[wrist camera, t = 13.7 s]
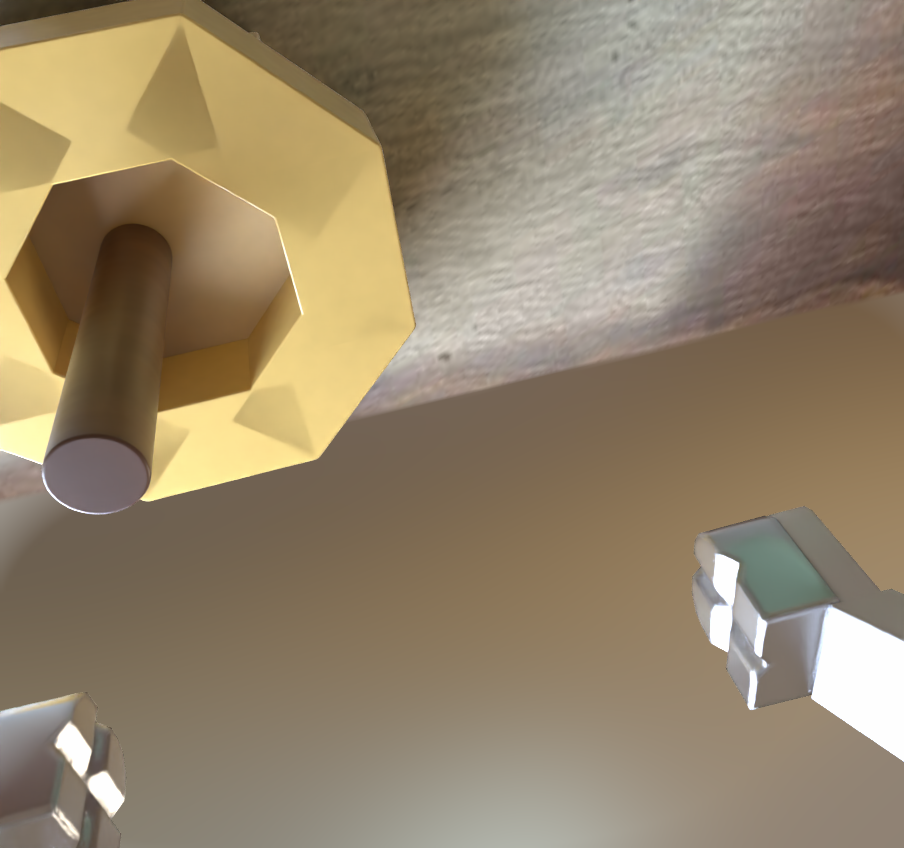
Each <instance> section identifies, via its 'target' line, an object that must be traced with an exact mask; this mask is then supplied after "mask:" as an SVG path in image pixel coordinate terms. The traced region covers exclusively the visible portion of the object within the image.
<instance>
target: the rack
mask: <svg viewBox="0 0 904 848" xmlns="http://www.w3.org/2000/svg"><path fill="white" fill-rule="evenodd" d="M250 34H251V35H253V36H254V37H256V38H257V39H258V40H260V37H259V34H258V32H250ZM28 235H29V237H30V239H31V241H32V243H33V245H34V248H35V250H36V252H37V254H38V256H39V258H40V260H41V262H42V264H43V266H44V269H45V271H46V273H47V275H48V277H49V279H50V281H51V283H52V285H53V287H54V290H55V292H56V294H57V296H58V298H59V300H60V302H61V304H62V306H63V308H64V310H65V313H66V315H67V317H68V319H69V320H71V321H74V322H76V323H78V324H80V325H79V329H78V333H77V336H76V340H75V344H74V348H73V351H72V355H71V359H70V363H69V366H68V370H67V374H66V378H65V381H64V385H63V389H62V393H61V396H60V400H59V404H58V408H57V411H56V415H55V419H54V423H53V426H52V430H51V434H50V438H49V441H48V445H47V449H46V452H45V456H44V460H43V464H42V478H43V482H44V484H45V486H46V488H47V490H48V491H49V493H50V494H51V495H52V496H53V497H54V498H55V499H56V500H57V501H58V502H60V503H61V504H63V505H64V506H66V507H68V508H70V509H73V510H75V511H79V512H83V513H88V514H109V513H115V512H118V511H121V510H124V509H126V508H128V507H130V506H132V505H133V504H135V503H136V502H137V501H139V500H140V499H141V498H142V497H143V495H144V494H145V493H146V491H147V489H148V488H149V485H150V481H151V474H152V463H153V453H154V443H155V433H156V423H157V413H158V402H159V392H160V382H161V372H162V362H163V358H166V357H170V356H175V355H179V354H183V353H187V352H192V351H196V350H200V349H204V348H209V347H213V346H217V345H221V344H226V343H230V342H234V341H238V340H243V339H247V338H248V337H249V336H250V334H251V333H252V331H253V330H254V328H255V327H256V325H257V323H258V322H259V320H260V319H261V317H262V316H263V314H264V313H265V311H266V310H267V308H268V307H269V305H270V304H271V302H272V301H273V299H274V297H275V296H276V294H277V293H278V291H279V290H280V288H281V287H282V285H283V284H284V282H285V281H286V279H287V278H288V276H289V275H290V271H289V268H288V264H287V261H286V257H285V254H284V250H283V247H282V243H281V240H280V236H279V233H278V229H277V226H276V222H275V219H274V218H273V217H271V216H270V215H268V214H266V213H264V212H263V211H261V210H259V209H257V208H256V207H254V206H252V205H250V204H249V203H247V202H245V201H243V200H242V199H240V198H238V197H236V196H235V195H233V194H231V193H229V192H227V191H226V190H224V189H222V188H220V187H219V186H217V185H215V184H213V183H212V182H210V181H208V180H206V179H205V178H203V177H201V176H199V175H198V174H196V173H194V172H192V171H191V170H189V169H187V168H185V167H184V166H182V165H180V164H178V163H177V162H175V161H173V160H167V161H162V162H157V163H152V164H148V165H143V166H138V167H134V168H129V169H124V170H120V171H115V172H110V173H106V174H101V175H96V176H92V177H87V178H82V179H78V180H73V181H68V182H64V183H59V184H54V185H53V186H52V188H51V190H50V192H49V194H48V196H47V198H46V200H45V202H44V204H43V206H42V208H41V210H40V212H39V214H38V216H37V218H36V220H35V222H34V224H33V226H32V228H31V230H30V232H29V234H28Z"/></svg>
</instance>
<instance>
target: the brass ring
mask: <svg viewBox="0 0 904 848" xmlns="http://www.w3.org/2000/svg"><path fill="white" fill-rule="evenodd" d="M167 160H173V161H175V162H177V163H178V164H180V165H182V166H184V167H185V168H187V169H189V170H191V171H192V172H194V173H196V174H198V175H199V176H201V177H203V178H205V179H206V180H208V181H210V182H212V183H213V184H215V185H217V186H219V187H220V188H222V189H224V190H226V191H227V192H229V193H231V194H233V195H235V196H236V197H238V198H240V199H242V200H243V201H245V202H247V203H249V204H250V205H252V206H254V207H256V208H257V209H259V210H261V211H263V212H264V213H266V214H268V215H270V216H271V217H273V218H274V219H275V222H276V226H277V229H278V233H279V236H280V240H281V243H282V247H283V250H284V254H285V257H286V261H287V264H288V268H289V271H290V275H289V276H288V278H287V279H286V281H285V282H284V284H283V285H282V287H281V288H280V290H279V291H278V293H277V294H276V296H275V297H274V299H273V301H272V302H271V304H270V305H269V307H268V308H267V310H266V311H265V313H264V314H263V316H262V317H261V319H260V320H259V322H258V323H257V325H256V327H255V328H254V330H253V331H252V333H251V334H250V336H249V337H248V338H247V339H243V340H238V341H234V342H230V343H226V344H221V345H217V346H213V347H209V348H204V349H200V350H196V351H192V352H187V353H183V354H179V355H175V356H170V357H166V358H163V362H162V372H161V382H160V392H159V402H158V413H157V423H156V433H155V443H154V453H153V463H152V474H151V481H150V485H149V488H148V489H147V491H146V493H145V494H144V495H143V497H142V498H141V500H144V501H152V500H156V499H160V498H163V497H168V496H172V495H176V494H180V493H184V492H188V491H192V490H196V489H200V488H204V487H208V486H212V485H215V484H220V483H223V482H227V481H232V480H236V479H239V478H244V477H248V476H252V475H256V474H259V473H263V472H267V471H272V470H275V469H280V468H284V467H287V466H292V465H295V464H299V463H304V462H307V461H311V460H315V459H318V458H319V457H320V455H321V454H322V453H323V451H324V450H325V449H326V447H327V446H328V445H329V443H330V442H331V441H332V439H333V438H334V437H335V435H336V434H337V433H338V431H339V430H340V429H341V427H342V426H343V425H344V423H345V422H346V421H347V419H348V418H349V416H350V415H351V414H352V412H353V411H354V410H355V408H356V407H357V406H358V404H359V403H360V402H361V400H362V399H363V398H364V396H365V395H366V394H367V392H368V391H369V390H370V388H371V387H372V385H373V384H374V383H375V381H376V380H377V379H378V377H379V376H380V375H381V373H382V372H383V371H384V369H385V368H386V367H387V365H388V364H389V363H390V361H391V360H392V359H393V357H394V356H395V355H396V353H397V352H398V350H399V349H400V348H401V346H402V345H403V344H404V342H405V341H406V340H407V338H408V337H409V336H410V334H411V333H412V332H413V330H414V329H415V326H416V323H415V318H414V312H413V307H412V302H411V297H410V292H409V286H408V281H407V276H406V271H405V265H404V260H403V255H402V250H401V245H400V239H399V234H398V229H397V224H396V219H395V213H394V208H393V203H392V198H391V193H390V187H389V182H388V177H387V172H386V166H385V161H384V156H383V151H382V146H381V144H380V142H379V140H378V138H377V136H376V134H375V132H374V130H373V128H372V126H371V124H370V122H369V120H368V118H367V116H366V114H365V112H364V111H363V110H361V109H360V108H359V107H357V106H356V105H354V104H353V103H351V102H350V101H348V100H347V99H345V98H344V97H342V96H341V95H339V94H338V93H336V92H335V91H334V90H332V89H331V88H329V87H328V86H326V85H325V84H323V83H322V82H320V81H319V80H317V79H316V78H314V77H313V76H311V75H310V74H309V73H307V72H306V71H304V70H303V69H301V68H300V67H298V66H297V65H295V64H294V63H292V62H291V61H289V60H288V59H286V58H285V57H283V56H282V55H281V54H279V53H278V52H276V51H275V50H273V49H272V48H270V47H269V46H267V45H266V44H264V43H263V42H261V41H260V40H258V39H257V38H256V37H254V36H253V35H251V34H250V33H248V32H247V31H245V30H244V29H242V28H241V27H239V26H238V25H236V24H235V23H233V22H232V21H231V20H229V19H228V18H226V17H225V16H223V15H222V14H220V13H219V12H217V11H216V10H214V9H213V8H211V7H210V6H208V5H207V4H205V3H204V2H203V1H201V0H131V1H126V2H121V3H116V4H111V5H106V6H100V7H95V8H90V9H85V10H80V11H75V12H70V13H65V14H59V15H54V16H49V17H44V18H39V19H34V20H29V21H24V22H19V23H13V24H8V25H3V26H0V450H3V451H5V452H8V453H11V454H14V455H17V456H20V457H22V458H25V459H28V460H31V461H34V462H36V463H39V464H43V460H44V456H45V452H46V449H47V445H48V441H49V438H50V434H51V430H52V426H53V423H54V419H55V415H56V411H57V408H58V404H59V400H60V396H61V393H62V389H63V385H64V381H65V378H66V374H67V370H68V366H69V363H70V359H71V355H72V351H73V348H74V344H75V340H76V336H77V333H78V329H79V325H80V324H78V323H76V322H74V321H71V320H69V319H68V317H67V315H66V313H65V310H64V308H63V306H62V304H61V302H60V300H59V298H58V296H57V294H56V292H55V290H54V287H53V285H52V283H51V281H50V279H49V277H48V275H47V273H46V271H45V269H44V266H43V264H42V262H41V260H40V258H39V256H38V254H37V252H36V250H35V248H34V245H33V243H32V241H31V239H30V237H29V235H28V234H29V232H30V230H31V228H32V226H33V224H34V222H35V220H36V218H37V216H38V214H39V212H40V210H41V208H42V206H43V204H44V202H45V200H46V198H47V196H48V194H49V192H50V190H51V188H52V186H53V185H54V184H59V183H64V182H68V181H73V180H78V179H82V178H87V177H92V176H96V175H101V174H106V173H110V172H115V171H120V170H124V169H129V168H134V167H138V166H143V165H148V164H152V163H157V162H162V161H167Z"/></svg>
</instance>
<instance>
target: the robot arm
mask: <svg viewBox="0 0 904 848" xmlns="http://www.w3.org/2000/svg"><path fill="white" fill-rule="evenodd" d="M694 555H695V556H696V558H697V560H698V561H699V563H700V565H701V567H700V568H699V569H698V570H697V572H696V573H695V574H694V575H693V577H692V596H693V600H694V604H695V609H696V613H697V616H698V618H699V620H700V623H701V625H702V627H703V629H704V631H705V633H706V635H707V636H708V638H709V640H710V642H711V643H713V644H714V645H716V646H718V647H720V648H722V649H723V650H725V651H727V652H728V659H727V668H726V669H727V671H728V673H729V674H730V676H731V678H732V679H733V681H734V683H735V685H736V686H737V688H738V690H739V691H740V693H741V695H742V696H743V698H744V699H745V701H746V703H747V705H748V707H749V708H750V710H753V709H757V708H761V707H765V706H769V705H773V704H777V703H781V702H785V701H789V700H793V699H797V698H801V697H805V696H809V695H812V699H813V700H815V701H816V702H818V703H819V704H821V705H822V706H824V707H825V708H827V709H828V710H830V711H831V712H832V713H834V714H835V715H837V716H838V717H840V718H841V719H843V720H844V721H846V722H847V723H849V724H850V725H852V726H853V727H854V728H856V729H857V730H859V731H861V732H862V733H863V734H865V735H866V736H868V737H869V738H871V739H872V740H874V741H875V742H876V743H878V744H879V745H881V746H882V747H884V748H885V749H887V750H888V751H890V752H891V753H893V754H894V755H896V756H897V757H898V758H900V759H901V760H903V761H904V594H902V593H900V592H897V591H895V590H893V589H889V590H884V591H880V590H879V588H878V587H877V586H876V585H875V584H874V583H873V581H872V580H871V579H870V578H869V577H868V576H867V574H866V573H865V572H864V571H863V570H862V568H861V567H860V566H859V565H858V564H857V562H856V561H855V560H854V559H853V558H852V557H851V555H850V554H849V553H848V552H847V551H846V550H845V548H844V547H843V546H842V545H841V544H840V543H839V541H838V540H837V539H836V538H835V537H834V536H833V534H832V533H831V532H830V531H829V530H828V528H827V527H826V526H825V525H824V524H823V523H822V521H821V520H820V519H819V518H818V517H817V515H816V514H815V513H814V512H813V511H812V510H810V509H809V508H807V507H805V506H803V507H799V508H795V509H791V510H787V511H783V512H780V513H776V514H772V515H769V516H762V517H758V518H755V519H751V520H747V521H743V522H740V523H736V524H732V525H729V526H725V527H721V528H718V529H714V530H710V531H706V532H703V533H699V534H698V536H697V538H696V539H695V545H694ZM97 710H98V707H97V705H96V704H95V703H94V701H93V700H92V699H91V697H90V696H89V694H88V693H87V692H84V693H77V694H73V695H68V696H64V697H60V698H55V699H51V700H47V701H43V702H38V703H34V704H29V705H25V706H20V707H16V708H12V709H7V710H4V711H0V848H119V847H120V839H121V833H120V832H119V830H118V829H117V827H116V826H115V824H114V823H113V822H112V820H111V818H112V817H113V816H114V814H115V813H116V811H117V810H118V808H119V807H120V806H121V804H122V803H123V801H124V800H125V787H126V772H125V762H124V754H123V751H122V749H121V746H120V743H119V740H118V738H117V736H116V735H115V733H114V732H113V730H112V728H110V727H108V726H105V725H102V724H100V723H97V722H96V718H97Z"/></svg>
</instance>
